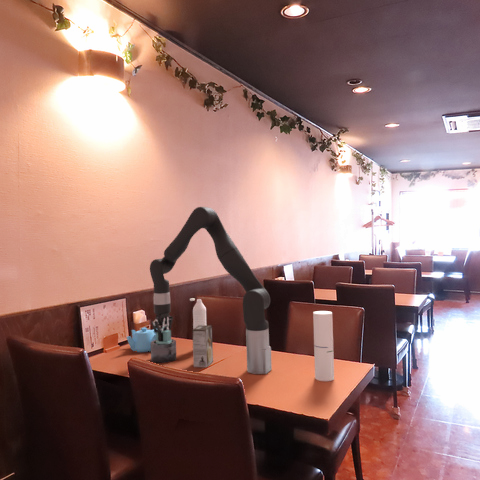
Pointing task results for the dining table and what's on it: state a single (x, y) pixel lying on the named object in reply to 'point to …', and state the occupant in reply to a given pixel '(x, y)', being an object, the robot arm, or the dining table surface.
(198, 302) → the water bottle
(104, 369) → the dining table surface
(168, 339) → the teal short cylinder
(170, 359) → the dark grey canister
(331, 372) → the cylindrical container
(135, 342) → the teapot
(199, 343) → the coffee box
